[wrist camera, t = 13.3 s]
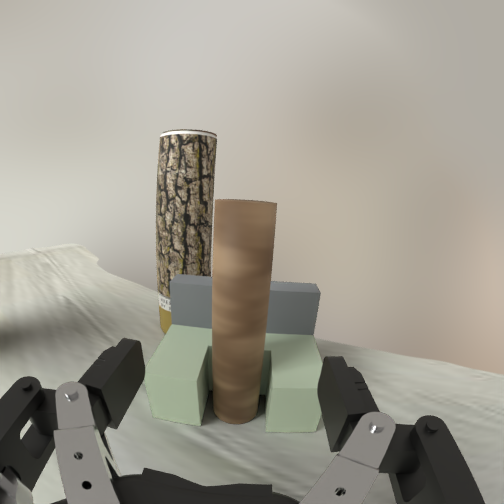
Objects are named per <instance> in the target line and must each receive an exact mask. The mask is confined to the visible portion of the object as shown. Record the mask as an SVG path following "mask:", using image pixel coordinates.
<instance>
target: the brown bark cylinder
mask: <svg viewBox="0 0 504 504" xmlns="http://www.w3.org/2000/svg"><path fill="white" fill-rule="evenodd" d="M216 137H217V135H216V134H214V133H212V132H207V131H202V130H187V129H184V130H183V129H181V130H170V131H165V132H162V133H161V137H160V144H159V157H158V174H157V197H156V258H157V259H156V260H157V284H158V301H159V312H160V324H161V329H162V330H163V332H164V333H165V334H166V333H167V331H168V329H169V328H170V326H171V325H172V319H171V303H170V281H171V280H172V279H173V278H174V277H175V276H176V275H177V274H184V275H196V276H208V277H211V241H212V213H213V193H214V174H215V158H216V144H217V139H216Z"/></svg>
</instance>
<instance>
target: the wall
mask: <svg viewBox="0 0 504 504" xmlns="http://www.w3.org/2000/svg"><path fill="white" fill-rule="evenodd" d="M319 300H320V291H319V289H318V287H317V286H316V284H311V283H292V282H277V281H271V284H270V295H269V306H268V316H267V327H266V333H272V334H295V335H313V334H314V328H315V323H316V317H317V312H318V306H319ZM170 303H171V319H172V324H174V325H182V326H190V327H199V328H208V329H212V277H208V276H196V275H184V274H177V275H176V276H175V277H174V278H173V279H172V280H171V281H170Z"/></svg>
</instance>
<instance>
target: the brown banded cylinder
mask: <svg viewBox="0 0 504 504" xmlns="http://www.w3.org/2000/svg"><path fill="white" fill-rule="evenodd" d="M276 210H277V203H272V202H264V201H253V200H236V199H235V200H234V199H218V200H215V213H214V238H213V274H212V275H213V276H212V375H213V409H214V413H215V415H216V416H217V417H218V418H219V419H220V420H222V421H224V422H227V423H230V424H243V423H246V422H249V421H250V420H252V419H253V418H254V417H255V416H256V414H257V410H258V401H259V393H260V384H261V375H262V366H263V356H264V347H265V337H266V327H267V316H268V306H269V295H270V284H271V271H272V260H273V248H274V236H275V223H276Z"/></svg>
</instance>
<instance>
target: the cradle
mask: <svg viewBox="0 0 504 504" xmlns="http://www.w3.org/2000/svg"><path fill="white" fill-rule="evenodd" d="M322 365H323V363H322V360H321V357H320V354H319V351H318V348H317V345H316V342H315V338H314V335H295V334H272V333H266V337H265V347H264V356H263V366H262V375H261V384H260V393H259V394H261V395H266V432H279V433H294V432H315V431H316V429H317V426H318V423H319V420H320V417H321V414H322V412H321V408H320V404H319V400H318V395H317V386H318V381H319V377H320V373H321V369H322ZM144 381H145V385H146V390H147V394H148V399H149V403H150V407H151V411H152V415H153V418H158V419H162V420H167V421H172V422H177V423H183V424H189V425H195V426H201V422H202V418H203V414H204V410H205V406H206V402H207V398H208V394H209V390H213V375H212V329H208V328H199V327H190V326H182V325H174V324H172V325H171V326H170V328H169V329H168V331H167V333H166V334H165V336H164V338H163V339H162V341H161V342H160V344H159V346H158V347H157V349H156V351H155V352H154V354H153V355H152V357H151V359H150V360H149V362H148V364H147V365H146V367H145V377H144Z"/></svg>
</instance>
